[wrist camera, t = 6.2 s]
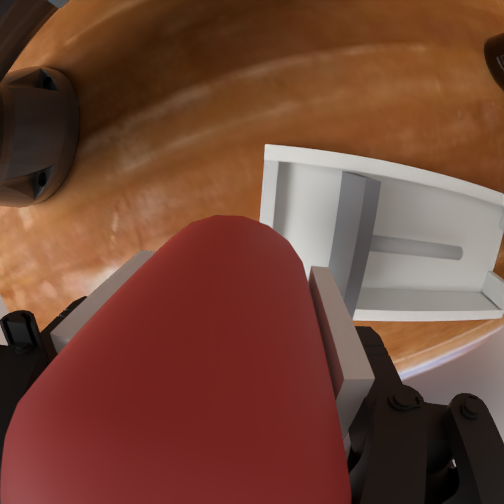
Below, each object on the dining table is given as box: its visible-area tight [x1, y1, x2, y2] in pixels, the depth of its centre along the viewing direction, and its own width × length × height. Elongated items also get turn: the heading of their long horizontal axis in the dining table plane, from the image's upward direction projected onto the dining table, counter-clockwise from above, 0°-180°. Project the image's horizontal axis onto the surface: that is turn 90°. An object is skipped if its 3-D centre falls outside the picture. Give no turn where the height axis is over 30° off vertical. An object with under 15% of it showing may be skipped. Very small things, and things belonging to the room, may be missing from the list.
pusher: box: [328, 171, 463, 320], centre depth 19 cm, size 11×9×6 cm
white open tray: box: [260, 144, 504, 321], centre depth 20 cm, size 26×12×7 cm, turn 86°
